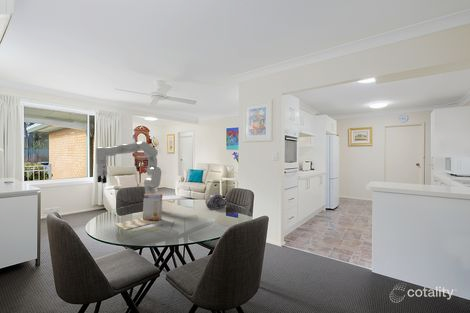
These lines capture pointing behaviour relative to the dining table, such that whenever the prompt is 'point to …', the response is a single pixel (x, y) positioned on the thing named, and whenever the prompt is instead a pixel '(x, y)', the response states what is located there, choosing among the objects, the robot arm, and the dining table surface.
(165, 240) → the dining table surface
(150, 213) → the cracker box
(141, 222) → the board
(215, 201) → the toy elephant
